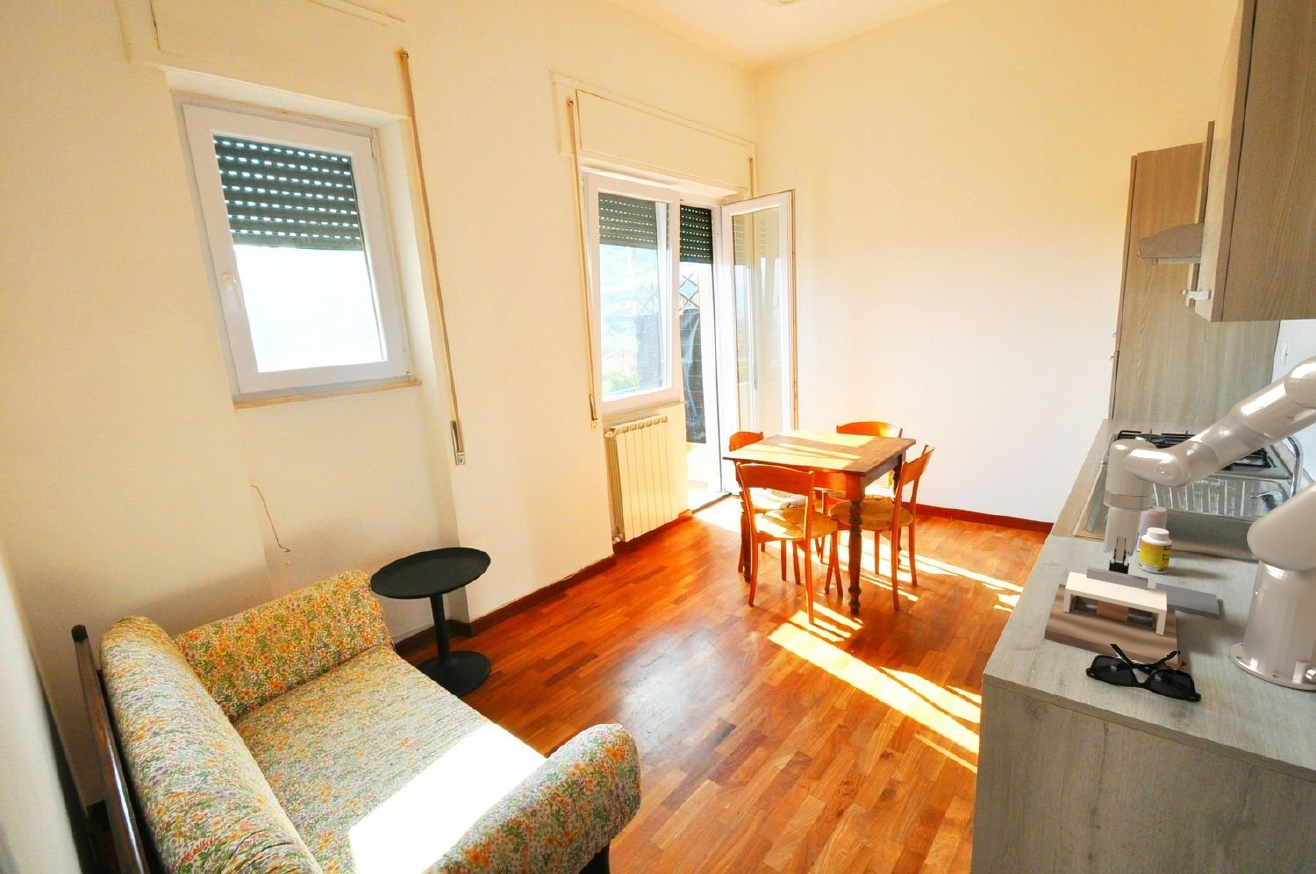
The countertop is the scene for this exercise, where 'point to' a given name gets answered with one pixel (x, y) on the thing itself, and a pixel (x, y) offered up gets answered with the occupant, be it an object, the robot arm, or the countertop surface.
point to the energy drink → (1151, 522)
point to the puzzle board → (1111, 631)
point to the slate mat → (1191, 600)
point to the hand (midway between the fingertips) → (1117, 579)
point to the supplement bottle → (1155, 551)
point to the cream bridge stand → (1117, 592)
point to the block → (1112, 610)
